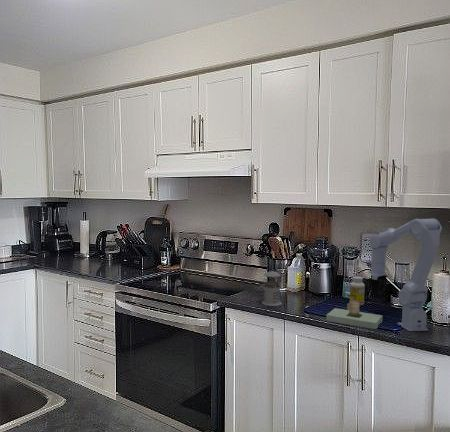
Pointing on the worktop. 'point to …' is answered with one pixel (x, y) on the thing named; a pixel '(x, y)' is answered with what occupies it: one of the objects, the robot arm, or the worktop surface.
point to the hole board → (354, 318)
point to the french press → (272, 288)
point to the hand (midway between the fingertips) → (377, 293)
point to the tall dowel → (354, 309)
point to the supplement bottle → (357, 290)
